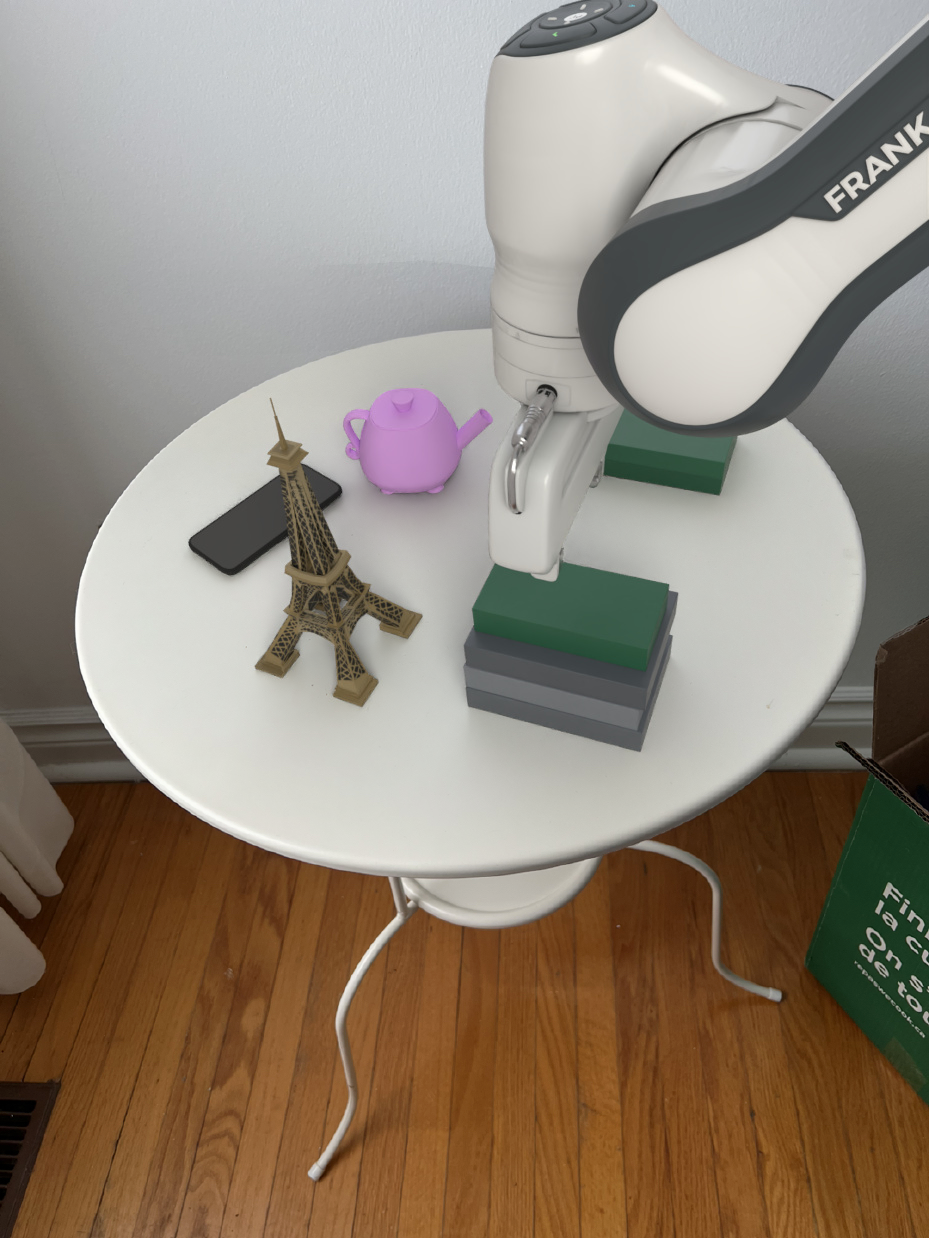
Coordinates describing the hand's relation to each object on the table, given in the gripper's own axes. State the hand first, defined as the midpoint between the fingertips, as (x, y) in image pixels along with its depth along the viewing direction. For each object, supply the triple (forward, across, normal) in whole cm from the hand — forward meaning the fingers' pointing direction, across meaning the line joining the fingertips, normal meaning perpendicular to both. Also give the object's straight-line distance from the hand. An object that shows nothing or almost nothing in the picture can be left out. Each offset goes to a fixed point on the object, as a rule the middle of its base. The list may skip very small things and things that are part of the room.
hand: (568, 524), depth 62 cm
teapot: (+18, +21, +22) cm, 35 cm away
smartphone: (+18, +10, +34) cm, 39 cm away
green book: (+10, 0, 0) cm, 10 cm away
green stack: (+17, +30, 0) cm, 35 cm away
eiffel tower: (+18, -2, +20) cm, 26 cm away
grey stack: (+17, 0, 0) cm, 17 cm away
